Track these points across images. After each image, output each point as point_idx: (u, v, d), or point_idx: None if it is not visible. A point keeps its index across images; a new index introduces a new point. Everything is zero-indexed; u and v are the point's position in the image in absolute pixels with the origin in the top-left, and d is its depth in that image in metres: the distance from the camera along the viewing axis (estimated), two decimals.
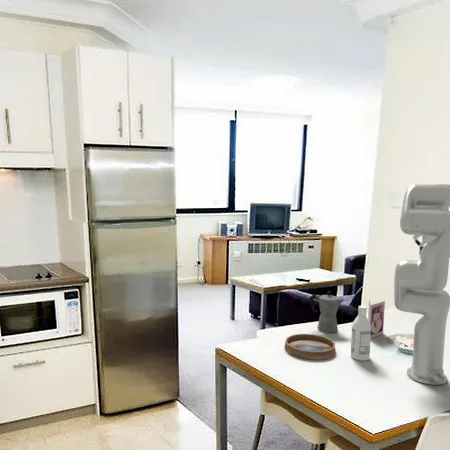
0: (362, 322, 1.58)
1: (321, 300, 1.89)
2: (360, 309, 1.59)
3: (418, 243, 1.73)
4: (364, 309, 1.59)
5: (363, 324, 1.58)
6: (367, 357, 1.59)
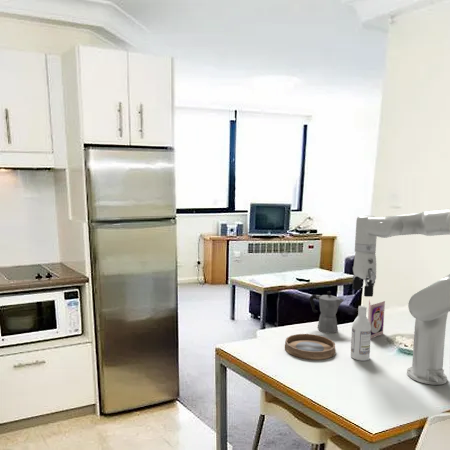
0: (362, 322, 1.58)
1: (321, 300, 1.89)
2: (360, 309, 1.59)
3: None
4: (364, 309, 1.59)
5: (363, 324, 1.58)
6: (367, 357, 1.59)
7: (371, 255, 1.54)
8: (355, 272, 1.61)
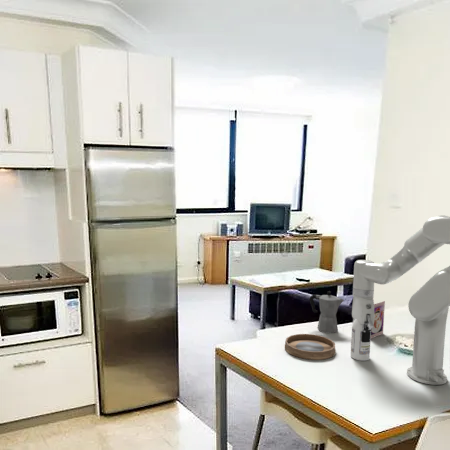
0: None
1: (321, 300, 1.89)
2: None
3: None
4: None
5: None
6: (367, 357, 1.59)
7: (369, 300, 1.55)
8: (353, 316, 1.63)
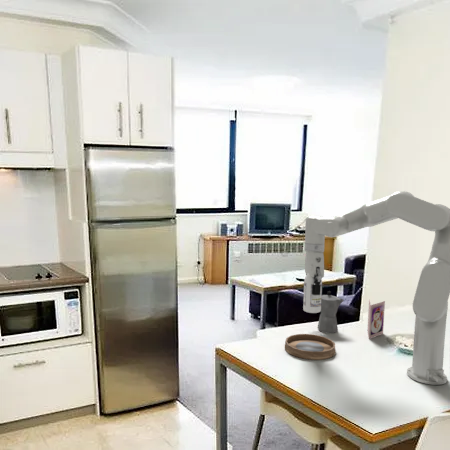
0: None
1: (321, 300, 1.89)
2: None
3: None
4: None
5: None
6: (318, 310, 1.64)
7: (319, 254, 1.60)
8: (306, 270, 1.68)
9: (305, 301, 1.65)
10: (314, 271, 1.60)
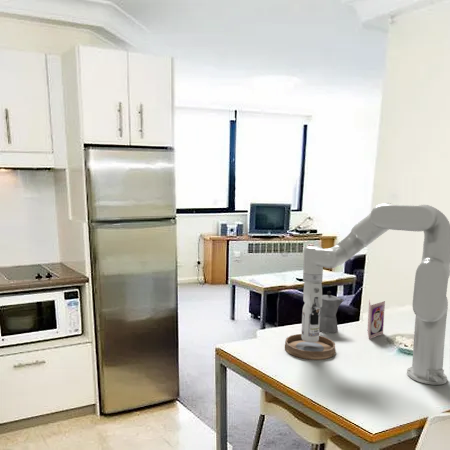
0: None
1: None
2: None
3: None
4: None
5: None
6: (316, 339, 1.65)
7: (317, 284, 1.62)
8: (304, 299, 1.69)
9: (303, 330, 1.66)
10: (312, 301, 1.62)
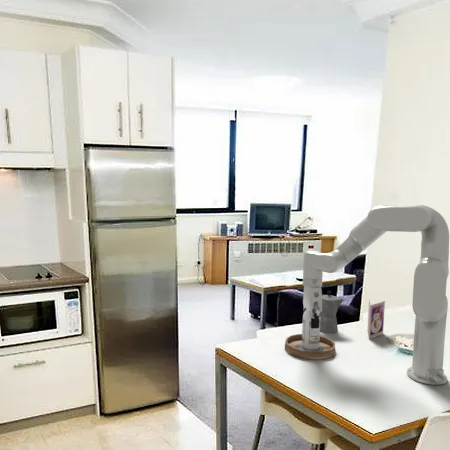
0: None
1: None
2: None
3: None
4: None
5: None
6: (316, 346, 1.65)
7: (317, 289, 1.62)
8: (304, 304, 1.69)
9: (304, 338, 1.66)
10: (312, 306, 1.62)
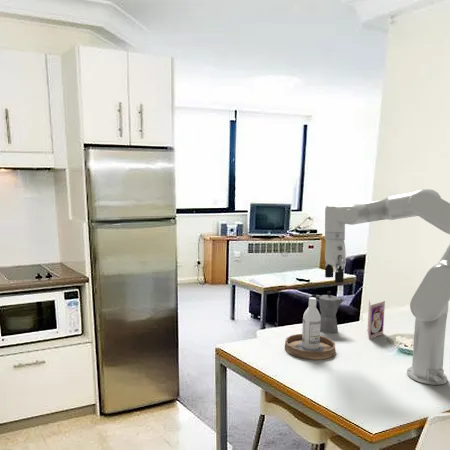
0: (312, 312, 1.65)
1: (321, 300, 1.89)
2: (310, 300, 1.66)
3: None
4: (314, 300, 1.65)
5: (312, 315, 1.64)
6: (316, 346, 1.65)
7: (340, 242, 1.59)
8: (326, 260, 1.66)
9: (304, 338, 1.66)
10: (336, 259, 1.59)
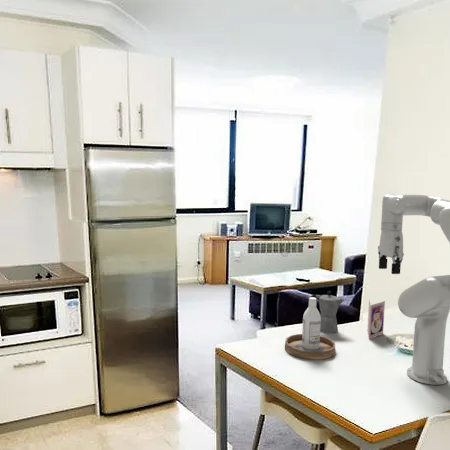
0: (312, 312, 1.65)
1: (321, 300, 1.89)
2: (310, 300, 1.66)
3: None
4: (314, 300, 1.65)
5: (312, 315, 1.64)
6: (316, 346, 1.65)
7: (398, 233, 1.56)
8: (381, 251, 1.64)
9: (304, 338, 1.66)
10: (393, 250, 1.56)
